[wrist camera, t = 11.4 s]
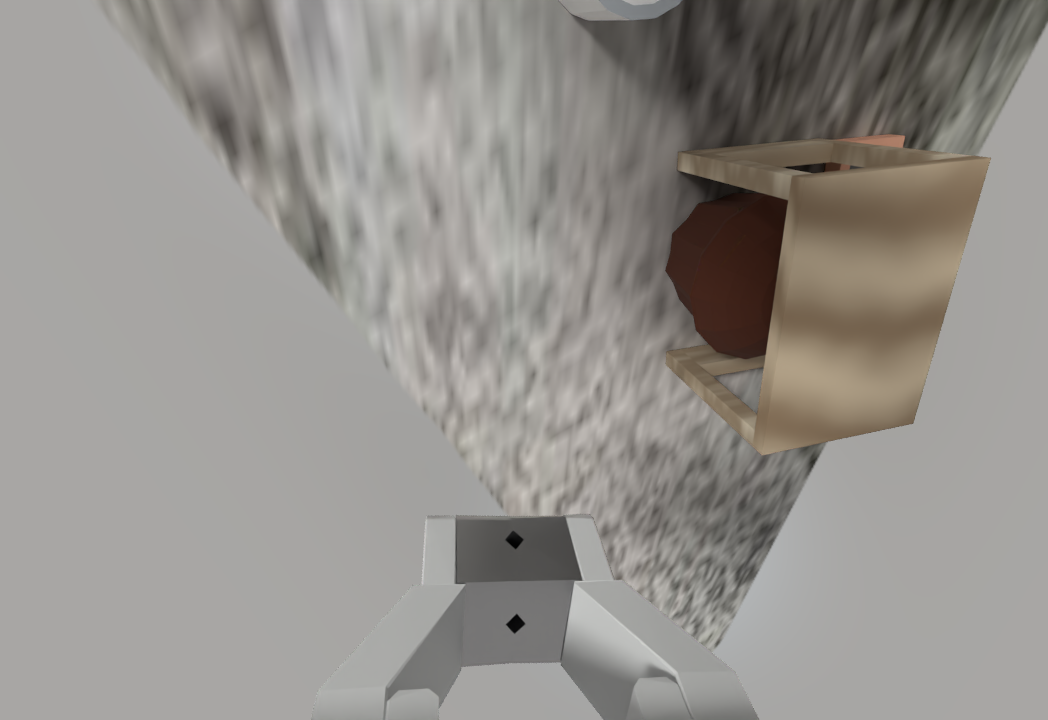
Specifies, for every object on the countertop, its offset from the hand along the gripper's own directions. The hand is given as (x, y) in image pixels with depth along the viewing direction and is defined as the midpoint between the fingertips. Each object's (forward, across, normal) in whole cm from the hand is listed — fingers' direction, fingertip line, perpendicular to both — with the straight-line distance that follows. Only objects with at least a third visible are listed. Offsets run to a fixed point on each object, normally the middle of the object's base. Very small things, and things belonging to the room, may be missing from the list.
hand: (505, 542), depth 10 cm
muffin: (+33, +19, -2) cm, 38 cm away
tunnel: (+33, +21, -2) cm, 39 cm away
